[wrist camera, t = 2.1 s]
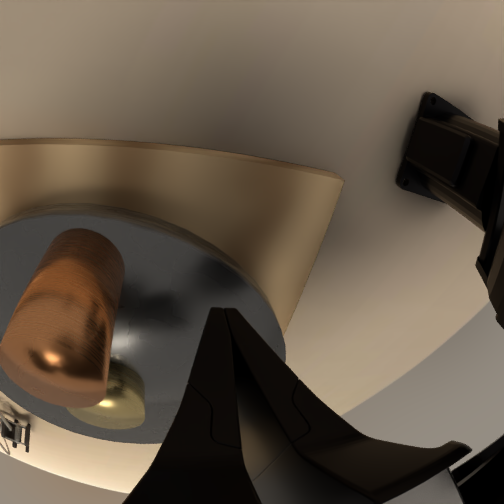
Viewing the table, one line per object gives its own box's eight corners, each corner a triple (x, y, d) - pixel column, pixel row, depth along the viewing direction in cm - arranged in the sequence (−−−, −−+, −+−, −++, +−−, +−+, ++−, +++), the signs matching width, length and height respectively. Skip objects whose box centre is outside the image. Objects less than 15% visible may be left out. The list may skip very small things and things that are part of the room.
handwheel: (241, 431, 23) (255, 493, 18) (22, 412, 17) (13, 473, 12) (333, 228, 13) (414, 333, 8) (-75, 196, 7) (-147, 273, 2)
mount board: (334, 172, 16) (369, 200, 13) (245, 401, 27) (253, 432, 24) (-51, 144, 9) (-89, 167, 6) (23, 383, 21) (16, 413, 18)
